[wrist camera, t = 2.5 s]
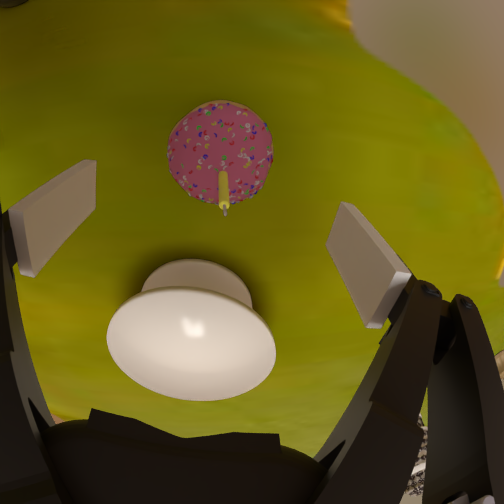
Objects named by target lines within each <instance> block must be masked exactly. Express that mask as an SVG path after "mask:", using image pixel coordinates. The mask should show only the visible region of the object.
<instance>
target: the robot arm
mask: <svg viewBox="0 0 504 504" xmlns="http://www.w3.org/2000/svg"><path fill="white" fill-rule="evenodd" d="M26 1H28V0H0V7H13V6H16V5H19V4H21V3H24V2H26ZM95 209H96V160H85V159H84V160H82V161H81V162H79V163H77V164H75V165H74V166H72V167H70V168H69V169H67V170H66V171H64V172H62V173H61V174H59V175H57V176H56V177H54V178H53V179H51V180H50V181H48V182H47V183H45V184H43V185H42V186H40V187H39V188H38V189H36V190H35V191H33V192H32V193H30V194H29V195H27V196H26V197H25V198H23V199H22V200H20V201H19V202H18V203H16V204H15V205H14V206H12V207H11V208H10V209H8V210H7V211H6V212H4V213H3V214H2V211H1V203H0V504H399V503H400V501H401V499H402V496H403V494H404V492H405V489H406V487H407V484H408V482H409V479H410V477H411V474H412V471H413V469H414V466H415V463H416V460H417V457H418V454H419V451H420V448H421V445H422V442H423V438H424V430H423V428H421V427H419V426H417V425H416V424H417V420H418V417H419V414H420V410H421V407H422V403H423V400H424V396H425V392H426V388H428V433H427V453H426V466H425V476H424V485H423V496H422V504H504V390H503V386H502V382H501V378H500V374H499V371H498V367H497V363H496V360H495V357H494V353H493V350H492V347H491V344H490V341H489V338H488V335H487V332H486V329H485V327H484V324H483V321H482V319H481V316H480V313H479V311H478V308H477V307H476V305H475V304H474V303H473V301H472V300H471V299H470V298H469V297H466V296H464V295H461V294H456V295H455V297H454V298H453V300H452V302H451V303H450V302H447V301H445V300H442V294H441V293H440V291H439V290H438V289H437V288H436V287H435V286H434V285H433V284H431V283H429V282H426V281H423V280H417V279H416V277H415V276H414V275H413V273H412V272H411V271H410V270H409V268H407V266H406V265H405V263H403V261H402V260H401V258H400V257H399V256H398V255H397V254H396V253H395V252H394V251H393V250H392V248H391V247H390V246H389V245H388V244H387V242H386V241H385V240H384V239H383V238H382V236H381V235H380V234H379V233H378V232H377V231H376V229H375V228H374V227H373V226H372V225H371V224H370V223H369V221H368V220H367V219H366V218H365V217H364V216H363V215H362V214H361V212H360V211H359V210H358V209H357V208H356V207H355V206H354V205H353V204H349V203H345V202H341V203H340V206H339V209H338V212H337V215H336V217H335V220H334V223H333V226H332V229H331V232H330V234H329V237H328V240H327V243H326V245H325V246H326V248H327V249H328V251H329V253H330V255H331V257H332V259H333V261H334V263H335V265H336V267H337V269H338V271H339V273H340V275H341V277H342V279H343V281H344V283H345V285H346V287H347V289H348V291H349V293H350V295H351V297H352V300H353V302H354V304H355V306H356V308H357V310H358V312H359V314H360V316H361V319H362V321H363V323H364V325H365V327H366V328H381V327H382V326H383V324H384V322H385V321H386V319H387V317H388V318H389V320H390V322H391V325H390V327H389V328H388V330H387V331H386V333H385V334H384V336H383V338H382V339H381V341H380V342H379V344H380V347H379V349H378V351H377V353H376V355H375V357H374V359H373V361H372V363H371V365H370V367H369V369H368V371H367V373H366V375H365V377H364V378H363V380H362V382H361V384H360V386H359V388H358V389H357V391H356V393H355V395H354V397H353V398H352V400H351V402H350V404H349V405H348V407H347V409H346V410H345V412H344V414H343V415H342V417H341V419H340V420H339V422H338V424H337V425H336V427H335V428H334V430H333V432H332V433H331V435H330V436H329V438H328V439H327V441H326V442H325V444H324V445H323V447H322V448H321V449H320V451H319V452H318V453H317V454H316V456H315V457H314V458H311V457H309V456H308V455H306V454H304V453H302V452H299V451H297V450H295V449H292V448H289V447H286V446H282V445H280V438H279V434H271V433H240V432H231V433H225V434H218V435H210V436H202V437H193V438H181V437H178V436H175V435H172V434H170V433H167V432H165V431H162V430H160V429H157V428H155V427H153V426H150V425H148V424H146V423H143V422H141V421H139V420H137V419H134V418H129V417H124V416H120V415H116V414H112V413H108V412H104V411H100V410H96V409H93V408H91V412H90V415H89V419H88V420H86V419H83V420H72V421H67V422H62V423H59V424H55V422H54V420H53V418H52V416H51V414H50V412H49V409H48V407H47V404H46V402H45V399H44V396H43V393H42V391H41V388H40V385H39V382H38V379H37V376H36V372H35V369H34V366H33V363H32V359H31V356H30V352H29V348H28V344H27V340H26V336H25V332H24V328H23V323H22V318H21V313H20V308H19V302H18V297H17V290H16V284H15V276H14V272H13V268H12V267H13V265H14V264H15V263H16V262H18V266H19V270H20V274H22V275H26V276H30V277H34V278H35V276H36V275H37V274H38V273H39V271H40V270H41V269H42V268H43V266H44V265H45V264H46V263H47V261H48V260H49V259H50V258H51V257H52V256H53V254H54V253H55V252H56V251H57V250H58V249H59V247H60V246H61V245H62V244H63V243H64V242H65V241H66V239H67V238H68V237H69V236H70V235H71V234H72V233H73V232H74V231H75V230H76V228H77V227H78V226H79V225H80V224H81V223H82V222H83V221H84V220H85V219H86V218H87V217H88V216H89V215H90V214H91V213H92V212H93V211H94V210H95Z"/></svg>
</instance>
